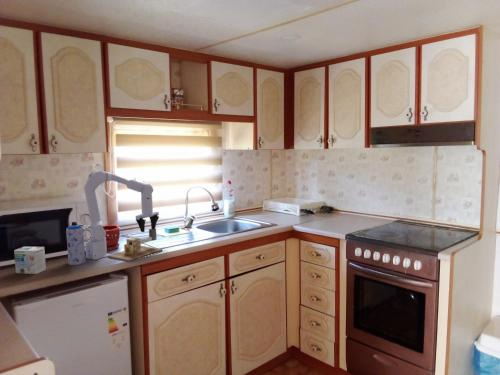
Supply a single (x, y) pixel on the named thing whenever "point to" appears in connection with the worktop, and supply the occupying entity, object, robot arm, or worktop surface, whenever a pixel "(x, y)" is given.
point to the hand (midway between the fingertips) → (148, 230)
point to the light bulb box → (30, 260)
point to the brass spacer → (128, 251)
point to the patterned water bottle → (75, 244)
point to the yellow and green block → (150, 236)
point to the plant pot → (112, 236)
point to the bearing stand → (138, 251)
